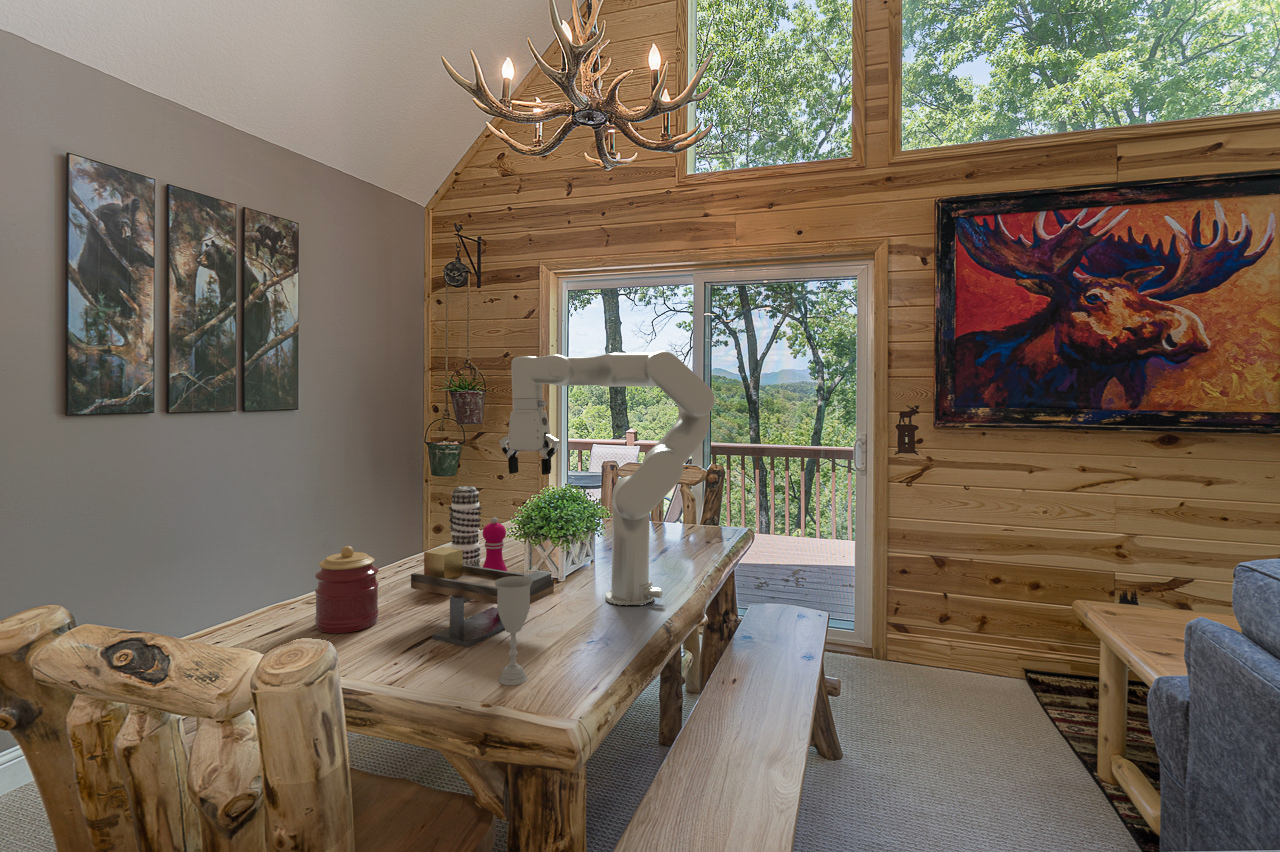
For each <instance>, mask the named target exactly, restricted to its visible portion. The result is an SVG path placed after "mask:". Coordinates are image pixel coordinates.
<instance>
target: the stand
mask: <svg viewBox="0 0 1280 852" xmlns="http://www.w3.org/2000/svg"><path fill="white" fill-rule="evenodd" d="M501 631H505V628H504V626H503V624H502V622H501V620H500V617H499V613H498V610H497V607H493V606H491V607H489V608H487V609H485V610H483V611H481V612H479V613H476V614H474V615H472V616H469V617H467V618H465V603H464V597H463V596H458V595H454V596H449V625H448V626H447V627H445V628H443V629H440V630H438V631H436V632H434V633H432V634H431V639H432V640H436V641H439V642H443V643H448V644H454V645H456V646H457V645H458V646H462V647H466V648H470V647H472V646H475V645H476V644H479V643H480V642H483V641H484V640H486V639H488V638H490V637H492V636H494V635H496V634H498V633H501Z"/></svg>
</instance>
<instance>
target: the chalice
mask: <svg viewBox="0 0 1280 852" xmlns="http://www.w3.org/2000/svg"><path fill="white" fill-rule="evenodd" d="M532 582H533V580H532V579H531V578H528V577H523V576H509V577H503V578H500V579H498V580H496V581H495V585H496V587H497V604H496V605H497V606H496V608H497V610H498V613H499V617H500V620H501V622H502V624H503V626H504V628H505V629H504V631H506V633H510V640H509V642H508V644H509V646H510V650H509V651H508V655H509V657H510V662H509V663H508V664H507V665H505V666H504V667H503V669H502V672H501V673H500V677H499V679H498V682H499V683H500V684H501V685H505V686H518V685H521V684H524V683H525V682H526V681H527V679H528V678H527V677H528V676H527V675H526V673H525V670H524V667H523V666H522V665H521V664H519V663H518V662H517V661H516V658H517V655H518V654H519V652H518V651H517V649H516V648H517V645H518V643H519V642H518V641H517V637H516V636H517V633H518V632H520V631H521V630H522V629H523V626H524V624H525V622H526V619H527V618H528V614H529V612H530V609H531V608H530V607H531V604H530V586H531V584H532Z"/></svg>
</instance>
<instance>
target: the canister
mask: <svg viewBox="0 0 1280 852" xmlns="http://www.w3.org/2000/svg"><path fill="white" fill-rule="evenodd" d="M374 562H375V558H374V557H372V556H370V555H369V554H368V553H366V552H362V551H361V552H360V551H357V552H356V551H354V548H353V547H352V546H351V545H345V546H343V547H342V548H341V550H340V553H335V554H331V555H328V556H326V558H325V559H323V560H322V561H320V562H319V563H318V566H319V567H320V569H319V570H318V571H317V572H315V574H314V578H315V579H316V580H317V585H316V587H315V589H314V593H315V617H314V619H315V620H314V623H315V625H316V629H317V630H318V629H319V630H321V631H320V632H322V631H323V632H322V633H326V634H345V633H347V634H348V633H353V631H354V632H358V631H363V630H364V629H368V628H370V627H372V626H374V625H375V624H376V623H378V618H379V616H380V615H379V612H380V610H379V598H378V597H379V595H378V593H379V590H378V589H379V582H378V581H377V574H378V573H379V571H380V569H379V568H378V566H375V565H374ZM319 630H318V631H319Z"/></svg>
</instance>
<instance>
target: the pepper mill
mask: <svg viewBox="0 0 1280 852" xmlns="http://www.w3.org/2000/svg"><path fill="white" fill-rule="evenodd" d="M506 536H507V529H506V527H505V526H504V524H502V523H499V519H498V517H491V519H490V523H488V524H486V525H485V526H484V527H483V530H482V537H483V539H484V548H485V553H486V554H485V558H484V559H485V560H484V562H483V565H482V567H483V568H489V569H496V570H502V571H508V567H507V566H506V563H505V560H504V558H503V548H504V547H505V541H504V539H505V537H506Z"/></svg>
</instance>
